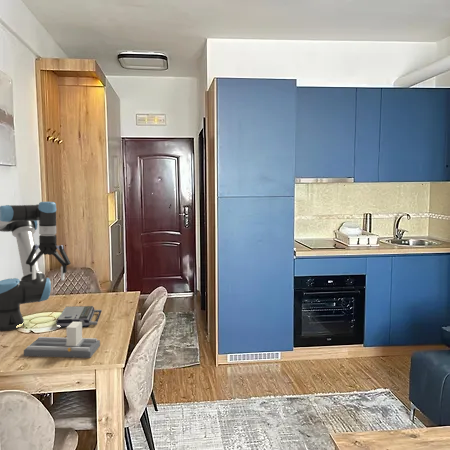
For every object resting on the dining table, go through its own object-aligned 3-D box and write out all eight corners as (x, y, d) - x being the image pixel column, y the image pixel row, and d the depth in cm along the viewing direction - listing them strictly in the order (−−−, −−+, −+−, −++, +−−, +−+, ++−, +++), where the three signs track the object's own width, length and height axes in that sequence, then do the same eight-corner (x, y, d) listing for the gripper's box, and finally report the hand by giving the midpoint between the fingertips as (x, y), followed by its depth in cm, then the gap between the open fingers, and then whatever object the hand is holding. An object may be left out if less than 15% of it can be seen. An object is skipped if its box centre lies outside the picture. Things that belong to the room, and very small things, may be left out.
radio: (64, 305, 249) (101, 304, 252) (64, 314, 249) (101, 313, 253) (55, 318, 225) (96, 317, 228) (55, 329, 226) (96, 327, 229)
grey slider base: (23, 356, 190) (23, 347, 189) (37, 344, 204) (37, 336, 203) (90, 357, 190) (90, 349, 189) (99, 345, 204) (99, 337, 203)
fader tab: (64, 347, 192) (64, 327, 192) (70, 341, 200) (70, 321, 200) (78, 348, 192) (78, 327, 192) (84, 341, 200) (84, 321, 199)
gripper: (17, 235, 208) (18, 280, 211) (71, 236, 208) (72, 281, 210) (24, 233, 216) (25, 277, 218) (77, 234, 216) (77, 278, 218)
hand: (48, 279), depth 214 cm, fingers open, 13 cm apart
